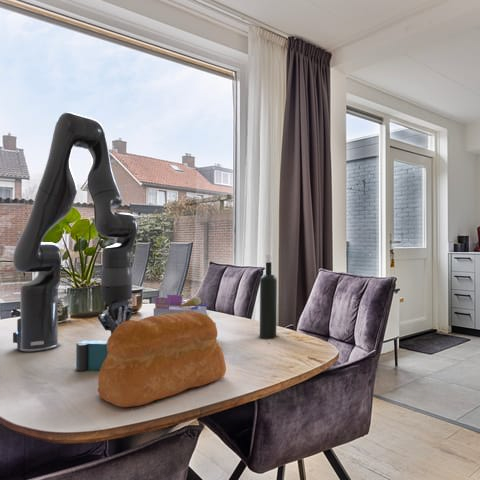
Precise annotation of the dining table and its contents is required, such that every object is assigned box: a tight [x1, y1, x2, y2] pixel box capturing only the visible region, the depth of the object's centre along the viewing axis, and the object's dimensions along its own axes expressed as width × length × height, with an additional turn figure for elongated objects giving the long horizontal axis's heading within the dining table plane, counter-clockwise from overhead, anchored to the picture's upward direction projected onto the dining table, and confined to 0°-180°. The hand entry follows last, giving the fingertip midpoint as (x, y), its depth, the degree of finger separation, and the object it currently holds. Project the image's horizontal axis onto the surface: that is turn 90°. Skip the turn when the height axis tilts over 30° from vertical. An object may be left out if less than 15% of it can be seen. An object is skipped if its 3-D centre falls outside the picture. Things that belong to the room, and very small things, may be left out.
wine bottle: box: [259, 252, 278, 340], centre depth 146 cm, size 6×6×30 cm
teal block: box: [75, 340, 108, 372], centre depth 110 cm, size 12×6×7 cm, turn 87°
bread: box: [97, 311, 227, 408], centre depth 97 cm, size 16×26×17 cm, turn 145°
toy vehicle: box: [153, 294, 217, 326], centre depth 140 cm, size 9×20×15 cm, turn 78°
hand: (116, 343), depth 116 cm, fingers closed
